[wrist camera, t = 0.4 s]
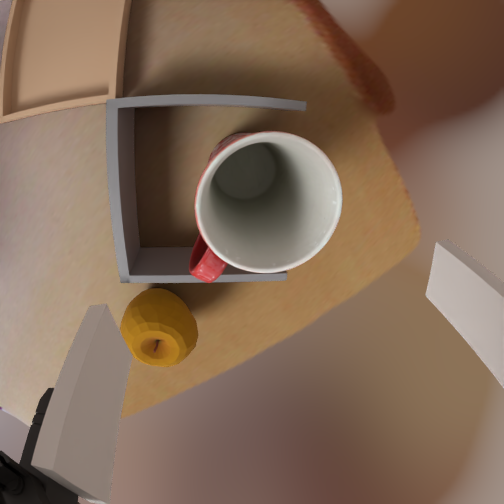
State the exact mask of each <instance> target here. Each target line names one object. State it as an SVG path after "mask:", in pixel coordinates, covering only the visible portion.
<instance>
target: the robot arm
mask: <svg viewBox="0 0 504 504" xmlns="http://www.w3.org/2000/svg"><path fill="white" fill-rule="evenodd" d="M426 297H427V298H428V299H429V300H430V301H431V302H432V303H433V304H434V305H435V306H436V308H437V309H438V310H439V311H440V312H441V313H442V314H443V315H444V316H445V317H446V318H447V319H448V321H449V322H450V323H451V324H452V325H453V326H454V328H455V329H456V330H457V331H458V332H459V333H460V334H461V336H462V337H463V338H464V339H465V340H466V341H467V343H468V344H469V345H470V346H471V347H472V349H473V350H474V351H475V352H476V354H477V355H478V356H479V357H480V358H481V360H482V361H483V362H484V363H485V365H486V366H487V367H488V368H489V370H490V371H491V372H492V374H493V375H494V376H495V377H496V379H497V380H498V381H499V383H500V384H501V385H502V386H503V388H504V282H503V281H502V280H501V279H499V278H498V277H497V276H495V275H494V274H493V273H492V272H491V271H490V270H488V269H487V268H486V267H485V266H483V265H482V264H481V263H479V262H478V261H477V260H476V259H474V258H473V257H472V256H470V255H469V254H468V253H466V252H465V251H464V250H462V249H461V248H460V247H458V246H457V245H455V244H454V243H453V242H451V241H450V240H449V239H447V240H443V241H438V242H436V246H435V251H434V257H433V262H432V268H431V273H430V278H429V283H428V287H427V292H426ZM132 356H133V355H132V354H131V352H130V350H129V348H128V346H127V344H126V342H125V340H124V338H123V337H122V335H121V333H120V331H119V329H118V327H117V325H116V323H115V321H114V318H113V316H112V314H111V312H110V310H109V308H108V306H107V304H101V305H94V306H89V308H88V311H87V313H86V315H85V317H84V319H83V321H82V323H81V325H80V328H79V330H78V332H77V334H76V336H75V339H74V341H73V343H72V345H71V348H70V350H69V353H68V355H67V357H66V360H65V362H64V365H63V367H62V370H61V372H60V375H59V377H58V380H57V383H56V385H55V388H48V390H47V391H46V392H45V393H44V395H43V396H42V397H41V399H40V401H39V404H38V406H37V409H36V415H34V418H33V421H32V424H33V425H31V427H30V430H29V433H28V437H27V440H26V443H25V447H24V450H23V453H22V457H21V460H20V463H19V464H18V463H16V462H15V461H14V460H12V459H11V458H10V457H9V456H7V455H6V454H5V453H4V452H2V451H0V504H80V503H79V502H78V496H80V497H82V498H84V499H85V500H87V501H89V502H94V503H99V504H110V496H111V485H112V475H113V466H114V458H115V450H116V443H117V436H118V430H119V423H120V418H121V412H122V406H123V400H124V395H125V390H126V385H127V380H128V375H129V370H130V366H131V361H132Z"/></svg>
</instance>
